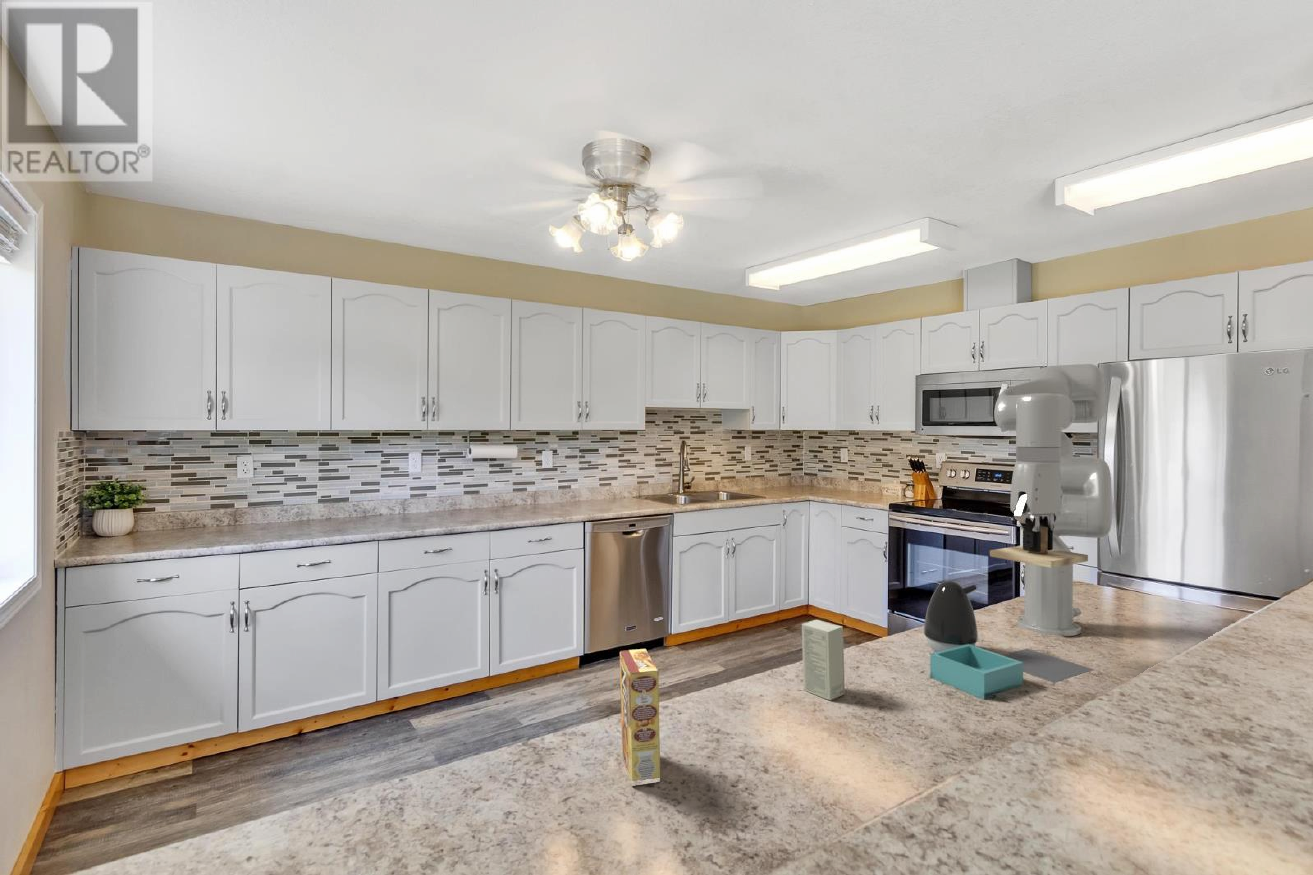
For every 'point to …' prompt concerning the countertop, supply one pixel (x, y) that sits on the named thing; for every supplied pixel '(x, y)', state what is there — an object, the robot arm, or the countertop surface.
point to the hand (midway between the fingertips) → (1037, 549)
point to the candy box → (640, 714)
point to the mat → (1047, 665)
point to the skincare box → (823, 659)
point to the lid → (1040, 554)
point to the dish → (976, 670)
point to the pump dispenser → (950, 617)
